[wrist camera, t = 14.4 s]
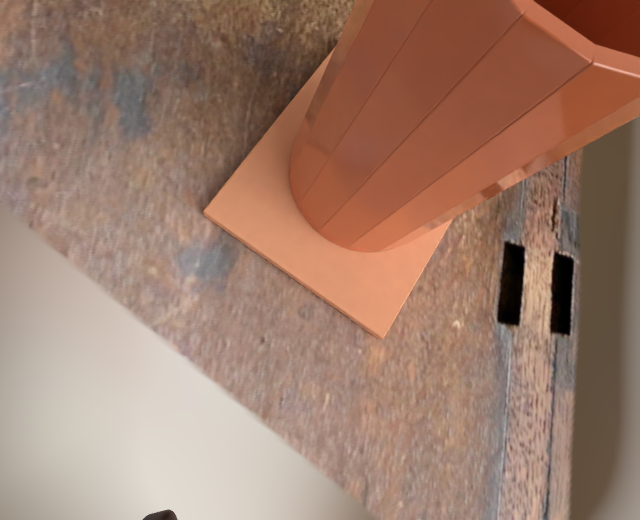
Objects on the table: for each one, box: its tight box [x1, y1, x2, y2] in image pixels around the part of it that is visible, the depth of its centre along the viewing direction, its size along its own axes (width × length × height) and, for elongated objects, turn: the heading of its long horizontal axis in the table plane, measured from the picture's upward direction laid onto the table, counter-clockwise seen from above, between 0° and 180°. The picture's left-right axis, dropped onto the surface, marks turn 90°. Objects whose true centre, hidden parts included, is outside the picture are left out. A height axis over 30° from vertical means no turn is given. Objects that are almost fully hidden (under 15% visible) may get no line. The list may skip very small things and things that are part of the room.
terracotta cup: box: [289, 0, 640, 253], centre depth 14 cm, size 7×7×13 cm
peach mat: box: [203, 46, 452, 339], centre depth 21 cm, size 11×9×1 cm
